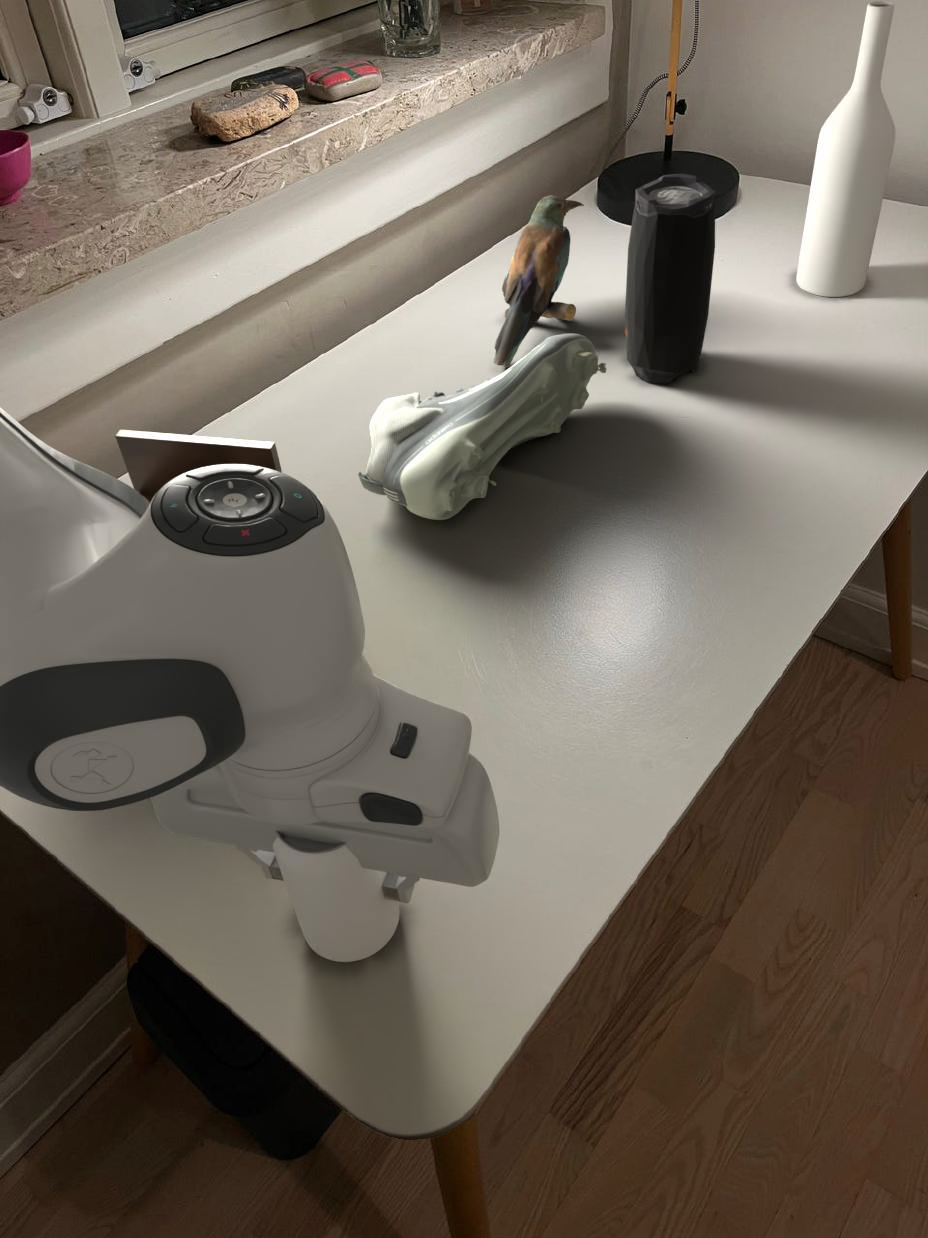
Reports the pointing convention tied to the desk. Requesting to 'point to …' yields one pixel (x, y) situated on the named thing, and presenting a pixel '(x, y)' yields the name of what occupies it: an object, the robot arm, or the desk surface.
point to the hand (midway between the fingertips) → (341, 881)
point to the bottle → (850, 173)
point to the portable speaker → (669, 276)
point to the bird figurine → (535, 276)
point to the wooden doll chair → (185, 456)
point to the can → (336, 898)
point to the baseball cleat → (474, 428)
